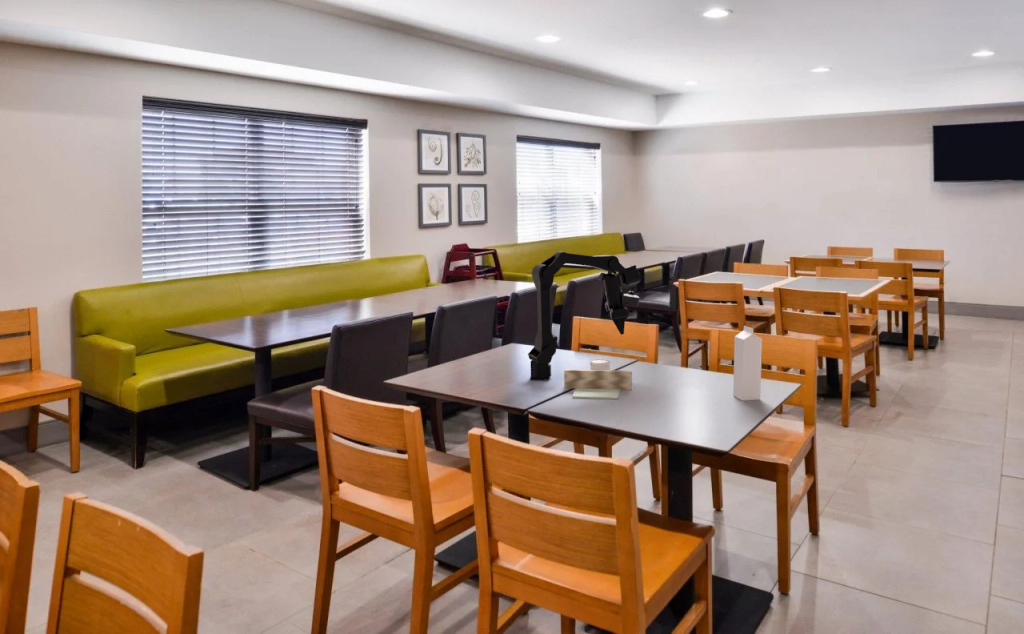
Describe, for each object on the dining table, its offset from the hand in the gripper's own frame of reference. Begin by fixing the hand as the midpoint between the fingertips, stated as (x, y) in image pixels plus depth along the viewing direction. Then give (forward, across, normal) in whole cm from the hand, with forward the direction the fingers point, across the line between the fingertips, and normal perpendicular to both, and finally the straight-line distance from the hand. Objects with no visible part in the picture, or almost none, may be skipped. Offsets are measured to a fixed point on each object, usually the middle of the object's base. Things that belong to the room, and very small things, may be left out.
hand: (620, 331), depth 262 cm
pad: (+10, -35, +14) cm, 39 cm away
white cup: (+12, -17, +12) cm, 24 cm away
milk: (+17, -42, -30) cm, 55 cm away
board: (+10, -27, +13) cm, 32 cm away
